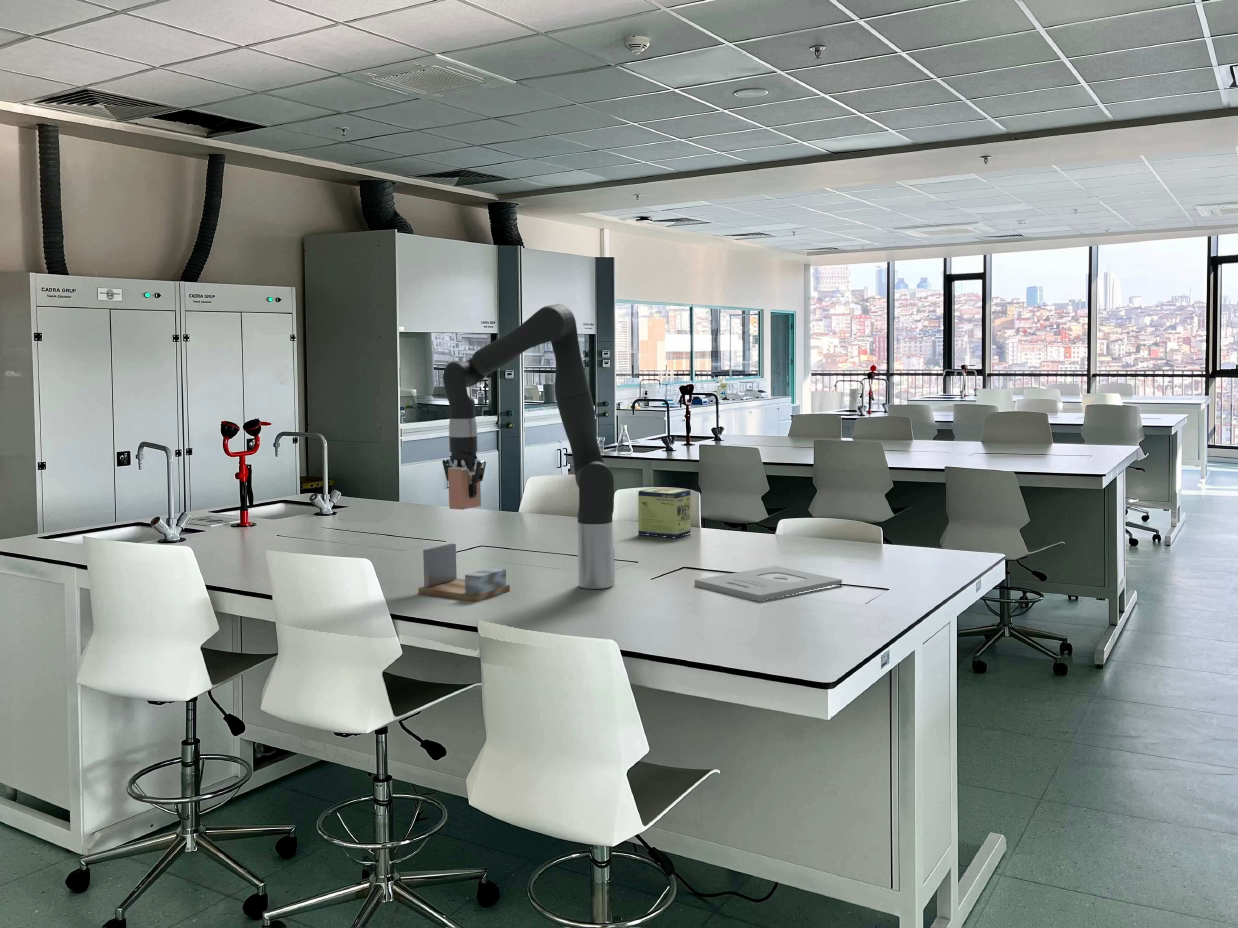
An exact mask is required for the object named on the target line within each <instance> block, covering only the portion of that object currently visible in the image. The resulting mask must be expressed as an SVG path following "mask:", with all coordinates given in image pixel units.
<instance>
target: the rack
mask: <svg viewBox="0 0 1238 928" xmlns="http://www.w3.org/2000/svg"><path fill="white" fill-rule="evenodd" d="M510 591H511V586H510V584H507V569H506V568H497V567H490V568H486V569H482V570H479V571H475V572H471V573H468V574H465V575H464V579H463V578H457V579H455V580H451V581H447V582H444V583H440V584H436V585H433V586H424V585H423V586H419V587H418V592H417V593H418V594H419V595H420V594H421V595H428V596H433V597H434V596H435V597H442V598H446V599H447V598H448V599H449V598H450V599H454V600H463V601H470V602H477V601H478V602H479V601H481V600H484V599H489V598H491V597H495V596H498V595H501V594H504V593H507V592H510Z"/></svg>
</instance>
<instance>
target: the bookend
mask: <svg viewBox="0 0 1238 928" xmlns="http://www.w3.org/2000/svg"><path fill="white" fill-rule="evenodd" d="M456 546H457V545H456V543H448V544H443V545H439V546H434V547H429V548H426V549H422V551H423V552H422V553H423V554H422V555H423V556H422V557H423V586H433V585H436V584H440V583H444V582H447V581H451V580H455V579H458V578H457V575H458V574H457V547H456Z"/></svg>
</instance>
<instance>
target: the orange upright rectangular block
mask: <svg viewBox="0 0 1238 928" xmlns="http://www.w3.org/2000/svg"><path fill="white" fill-rule="evenodd" d="M473 469H474V468H473ZM475 469H476V467H475ZM473 471H474V470H472V471H469V472H470V473H471V472H473ZM471 476H472V475H471ZM472 479H473V476H472ZM448 503H449V504H448V507H449V510H460V511H461V510H468V509H473V508H477V507H481V506H482V497H481V481H480V482H478V483H477V495H476V497H475V498H469V482H468V476H467V468H464V467H450V468H448Z"/></svg>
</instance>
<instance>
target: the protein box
mask: <svg viewBox="0 0 1238 928" xmlns="http://www.w3.org/2000/svg"><path fill="white" fill-rule="evenodd" d="M637 493H638V494H637V495H638V496H637V497H638V504H637V505H638V510H637V511H638V518H637V519H638V520H637V521H638V524H637V525H638V528H637V529H638V534H649V535H657V536H666V537H675V538H674V539H677V538H676V537H679V538H681V537H680V536H683V535H685V534H688V533H690V532H691V531H692V530H691V529H692V528H691V527H692V526H691V520H692V519H691V513H692V512H691V511H692V510H691V505H692V503H691V497H692V496H691V495H692V493H691V489H690V490H689V489H677V488H675V489H674V488H673V489H671V488H660V487H653V488H648V489H643V490H642V489H641V490H638V492H637ZM683 537H684V536H683Z"/></svg>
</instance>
